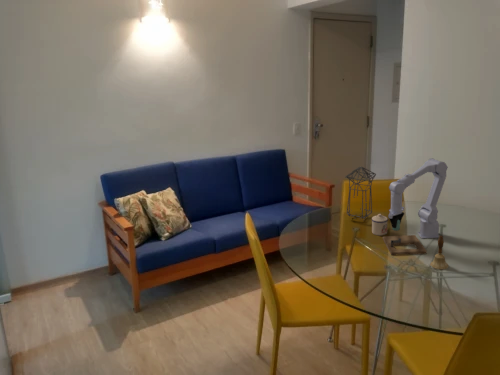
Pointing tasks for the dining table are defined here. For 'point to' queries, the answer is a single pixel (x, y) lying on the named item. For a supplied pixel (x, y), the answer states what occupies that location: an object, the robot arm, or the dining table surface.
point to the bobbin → (397, 226)
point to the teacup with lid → (379, 225)
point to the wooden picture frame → (404, 241)
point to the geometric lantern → (361, 188)
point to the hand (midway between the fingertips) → (396, 226)
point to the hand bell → (439, 257)
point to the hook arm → (395, 241)
